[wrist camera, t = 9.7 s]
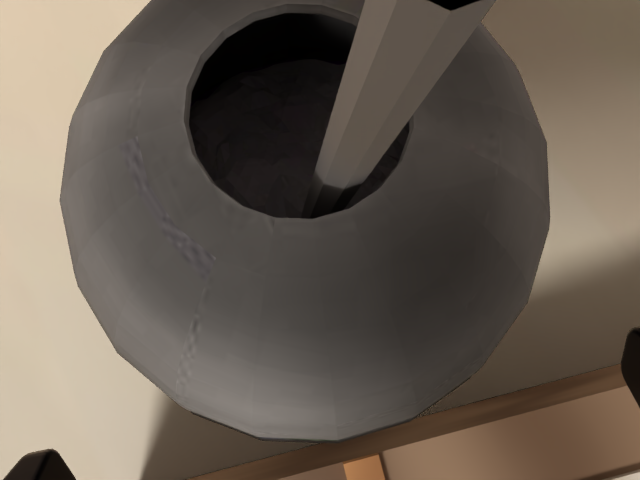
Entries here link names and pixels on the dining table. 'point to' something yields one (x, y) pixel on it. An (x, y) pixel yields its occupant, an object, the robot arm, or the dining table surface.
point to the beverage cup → (306, 206)
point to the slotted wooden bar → (485, 440)
